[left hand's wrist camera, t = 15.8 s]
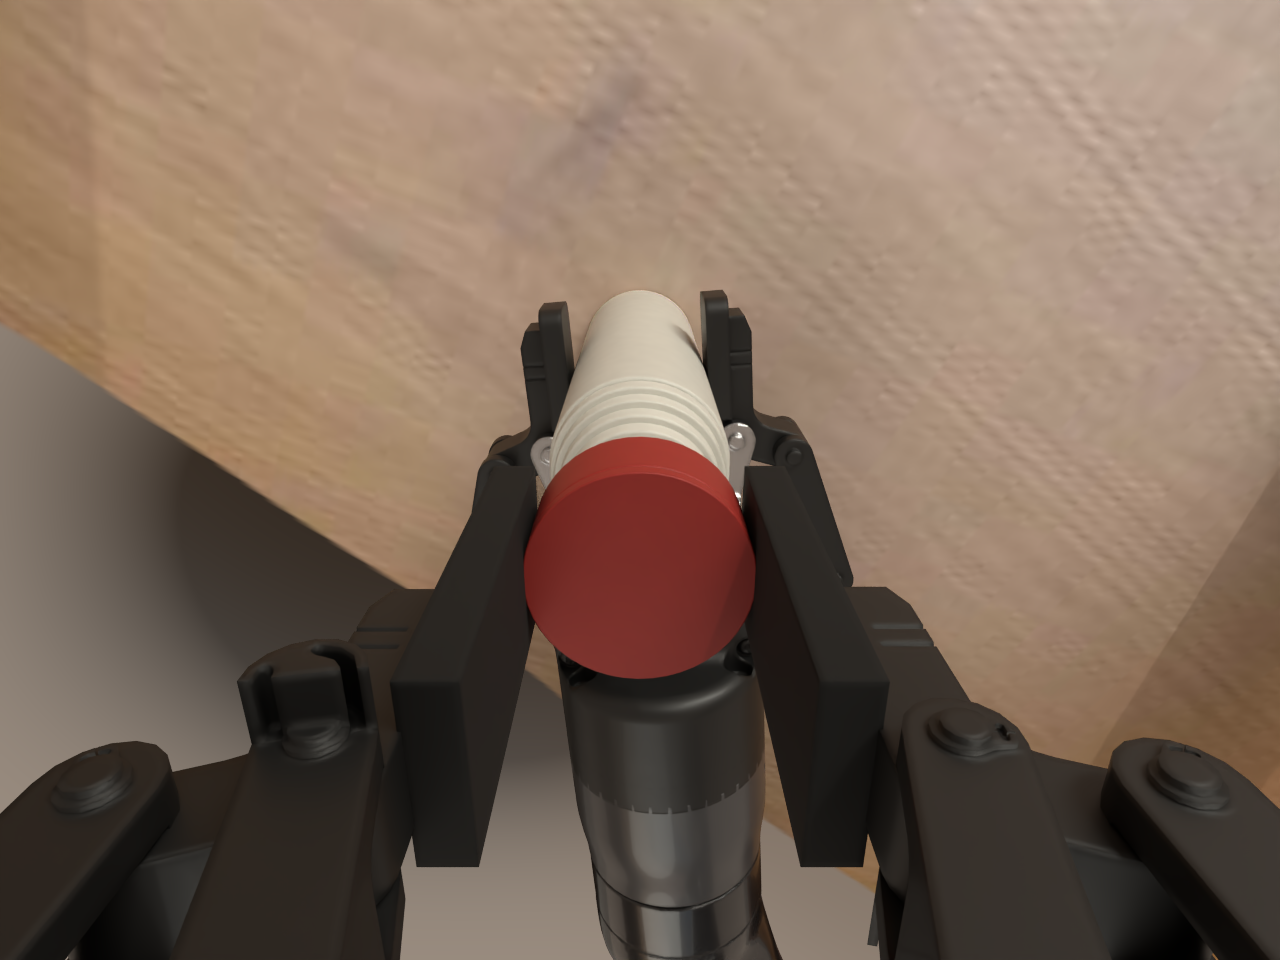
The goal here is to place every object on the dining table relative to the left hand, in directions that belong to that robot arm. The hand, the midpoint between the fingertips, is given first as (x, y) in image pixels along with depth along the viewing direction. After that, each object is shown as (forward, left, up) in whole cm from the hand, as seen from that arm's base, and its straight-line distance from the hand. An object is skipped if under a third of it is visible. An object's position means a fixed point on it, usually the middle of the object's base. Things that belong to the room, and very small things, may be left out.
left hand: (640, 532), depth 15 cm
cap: (0, 0, +2) cm, 2 cm away
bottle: (0, 0, -17) cm, 17 cm away
